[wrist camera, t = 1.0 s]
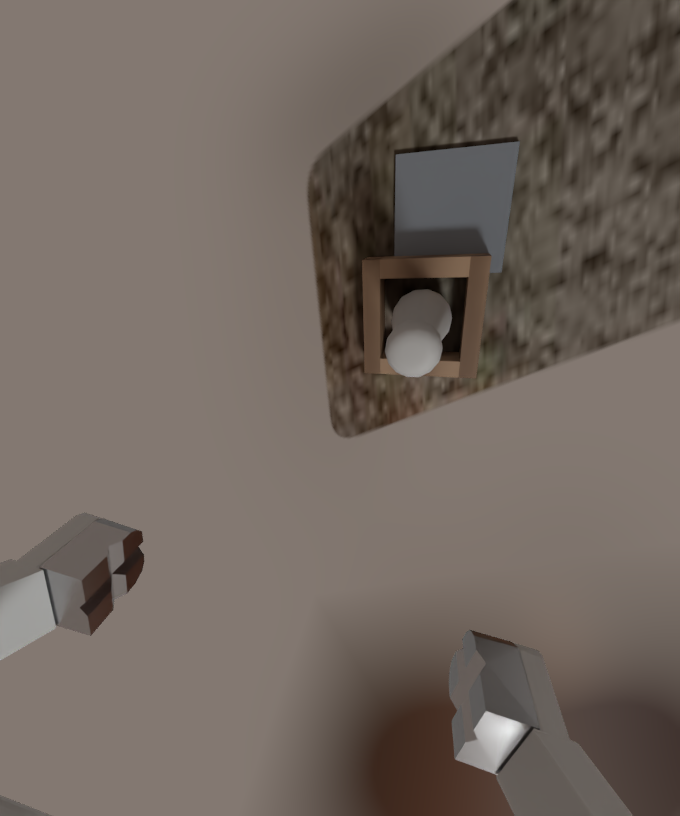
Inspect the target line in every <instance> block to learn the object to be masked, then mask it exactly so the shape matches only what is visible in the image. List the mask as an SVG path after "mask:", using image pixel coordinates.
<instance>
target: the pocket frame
mask: <svg viewBox="0 0 680 816" xmlns="http://www.w3.org/2000/svg"><path fill="white" fill-rule="evenodd" d="M491 257H492V256H491V255H490V254H489V253H479V254H450V255H421V256H382V257H367V258H365V259H363V260H362V281H363V322H364V363H365V373H376V374H397V375H401V374H399V373H397V372H395V370H394V369H393V368H392V367H391V366H390V365H389V364H388V360H387V357H386V354H385V279H392V278H445V277H467V281H466V291H465V301H464V311H463V321H462V331H461V341H460V350H459V352H444V351H442V353H441V358H440V361H439V362H438V364H437V365H436V366H435V367H434V368H433V369H432V370H431V372H429V373H427V374H425V375H422V376H438V377H458V378H476V375H477V367H478V359H479V351H480V344H481V336H482V328H483V320H484V312H485V304H486V296H487V289H488V281H489V273H490V265H491Z"/></svg>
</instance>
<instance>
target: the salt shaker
mask: <svg viewBox="0 0 680 816" xmlns="http://www.w3.org/2000/svg"><path fill="white" fill-rule="evenodd" d="M451 321H452V315H451V310H450V305H449V304H448V303H447V302H446V300H445V299H444V298H443V297H442V296H441V294H439V293H436V292H434V291H431V290H429V289H423V290H414V291H412V292H410V293H408V294H406V295H405V296H403V297H401V299H400V300H399V302H398V303H397V305H396V306H395V307H394V310H393V315H392V321H391V322H392V328H393V331H392V332H391V334H390V335H389V336H388V338H387V342H386V347H385V354H386V357H387V360H388V364H389V365H390V366H391V367H392V368H393V369H394V370H395V372H397V373H399V374H401V375H404V376H406V377H420V376H422V375H425V374H427V373H429V372H431V370H432V369H433V368H434V367H435V366H436V365H437V364H438V362H439V361H440V358H441V353H442V349H443V346H442V342H441V341H442V340H443V338H444V337H445V336H446V334H447V333H448V332H449V329H450V325H451Z"/></svg>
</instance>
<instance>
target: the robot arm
mask: <svg viewBox="0 0 680 816" xmlns="http://www.w3.org/2000/svg"><path fill="white" fill-rule="evenodd" d="M142 542H143V536H142V531H139V530H136V529H133V528H130V527H127V526H124V525H121V524H118V523H115V522H112V521H109V520H106V519H103V518H100V517H97V516H94V515H91V514H87V513H82V514H79V515H76V516H75V517H74V518H72V519H71V520H70V521H68V522H67V523H66V524H65V525H63V526H62V527H60V528H59V529H58V530H56V531H55V532H54V533H53V534H51V535H50V536H49V537H47V538H46V539H45V540H43V541H42V542H41V543H40V544H38V545H37V546H35V547H34V548H33V549H32V550H30V551H29V552H28V553H27V554H25V555H24V556H23V557H21V558H20V559H19V560H17V561H15V560H12V559H10V560H7V561H4V562H2V563H0V660H1V659H3V658H5V657H7V656H9V655H10V654H12V653H14V652H15V651H17V650H19V649H21V648H22V647H24V646H26V645H27V644H29V643H31V642H33V641H34V640H36V639H38V638H40V637H41V636H43V635H45V634H47V633H48V632H50V631H52V630H53V629H55V628H56V625H57V626H60V627H63V628H67V629H70V630H73V631H77V632H80V633H83V634H87V635H90V636H91V635H92V634H93V633H94V632H95V630H96V629H97V628H98V627H99V626H100V625H101V623H102V622H103V621H104V620H105V619H106V617H107V616H108V615H109V614H110V613H111V612H112V611H113V608H114V599H116V598H118V597H120V596H122V595H124V594H127V593H128V592H129V590H130V589H131V588H132V587H133V586H134V584H135V583H136V581H137V579H138V577H139V575H140V574H141V572H142V569H143V564H144V554H143V553H142V551H141V550H140V548H139V547H138V546H139V545H140V544H141V543H142ZM462 641H463V648H462V649H460V650H458V651H456V652H455V655H454V657H453V659H452V661H451V667H450V672H449V693H450V698H451V700H452V702H453V703H454V706H455V707H456V709H457V712H456V714H455V716H454V718H453V719H452V731H453V742H454V755H455V759H456V760H458V761H461V762H464V763H467V764H469V765H472V766H475V767H477V768H480V769H483V770H485V771H488V772H491V773H493V774H496V775H497V776H496V778H497V781H498V783H499V785H500V787H501V789H502V791H503V793H504V795H505V797H506V799H507V801H508V803H509V805H510V807H511V809H512V811H513V813H514V815H515V816H633V815H632V814H631V813H630V811H629V810H628V808H627V807H626V806H625V805H624V803H623V802H622V801H621V799H620V798H619V797H618V795H617V794H616V793H615V791H614V790H613V789H612V787H611V786H610V785H609V784H608V782H607V781H606V780H605V778H604V777H603V776H602V775H601V773H600V772H599V770H598V769H597V768H596V766H595V765H594V764H593V762H592V761H591V760H590V758H589V757H588V756H587V755H586V753H585V752H584V750H583V749H582V748H581V747H580V745H579V744H578V743H577V742H574V741H571V740H570V739H569V736H568V733H567V730H566V727H565V724H564V720H563V717H562V714H561V712H560V708H559V705H558V702H557V699H556V696H555V693H554V690H553V687H552V684H551V681H550V678H549V674H548V671H547V669H546V665H545V662H544V659H543V656H542V655H541V653H540V652H539V651H538V650H535V649H532V648H529V647H526V646H522V645H519V644H515V643H513V642H511V641H507V640H504V639H500V638H497V637H493V636H490V635H486V634H483V633H479V632H476V631H472V630H469V631H467V632H466V633H465V635H464V637H463V639H462ZM0 816H51V815H49V814H47V813H44V812H41V811H39V810H36V809H34V808H31V807H29V806H26V805H24V804H21V803H19V802H16V801H14V800H11V799H9V798H6V797H4V796H1V795H0Z"/></svg>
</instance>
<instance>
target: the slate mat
mask: <svg viewBox="0 0 680 816" xmlns="http://www.w3.org/2000/svg"><path fill="white" fill-rule="evenodd" d="M519 144H520V141H518V142H509V143H500V144H490V145H481V146H471V147H462V148H452V149H443V150H434V151H424V152H415V153H405V154H396V172H395V247H394V256H421V255H450V254H479V253H489V254H490V255H491V256H492V257H491V265H490V273H495V272H501V271H502V264H503V257H504V250H505V243H506V236H507V229H508V222H509V215H510V208H511V201H512V193H513V186H514V179H515V172H516V165H517V158H518V151H519Z"/></svg>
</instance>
